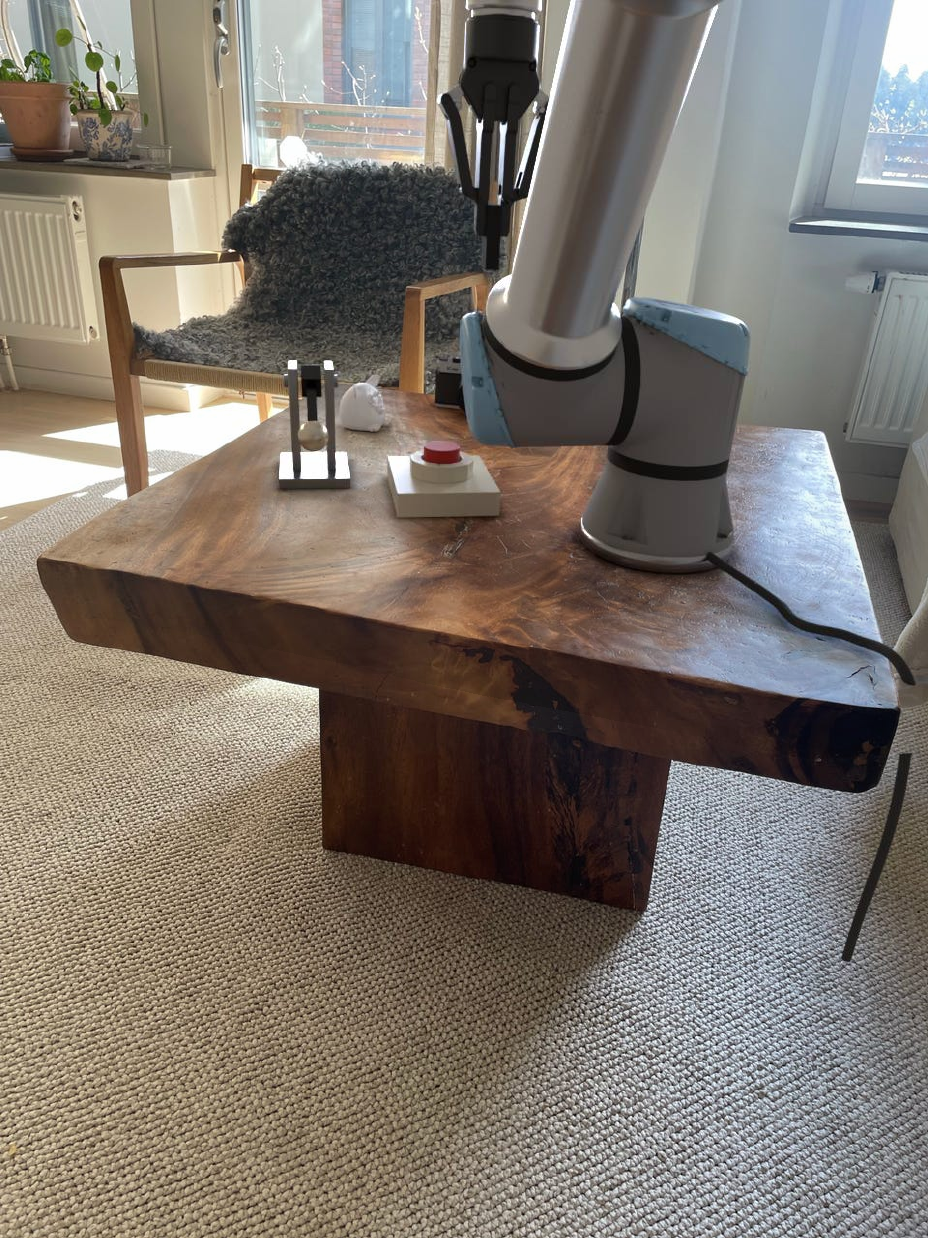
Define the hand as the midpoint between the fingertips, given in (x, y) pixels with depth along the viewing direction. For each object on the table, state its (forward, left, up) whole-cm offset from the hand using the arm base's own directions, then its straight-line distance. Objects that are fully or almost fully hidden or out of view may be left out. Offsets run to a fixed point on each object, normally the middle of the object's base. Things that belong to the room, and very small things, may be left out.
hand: (489, 267), depth 100 cm
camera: (+26, -4, -23) cm, 36 cm away
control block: (-11, +6, -23) cm, 26 cm away
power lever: (-7, +20, -16) cm, 26 cm away
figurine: (+18, +13, -23) cm, 33 cm away
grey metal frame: (-3, +20, -23) cm, 31 cm away
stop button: (-11, +6, -19) cm, 23 cm away
